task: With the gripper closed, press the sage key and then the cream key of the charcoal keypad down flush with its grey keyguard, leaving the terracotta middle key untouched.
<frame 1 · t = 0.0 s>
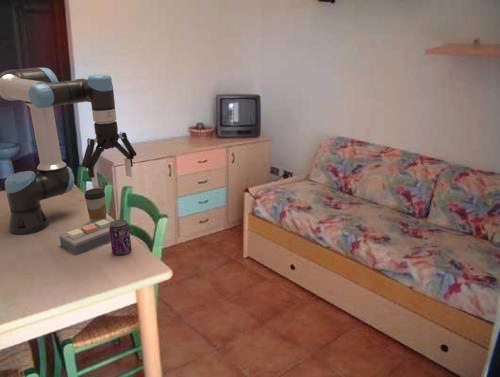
hand: (112, 180, 158), 28 cm above the table, fingers open, 13 cm apart
key cream: (75, 235, 169), point 5 cm above the table, slide at 0.0 cm
key terracotta: (89, 230, 173), point 5 cm above the table, slide at 0.0 cm
beverage can: (122, 252, 167), on the table
coffee cup: (99, 224, 191), on the table
keypad: (91, 241, 175), on the table
key sage: (102, 225, 177), point 5 cm above the table, slide at 0.0 cm
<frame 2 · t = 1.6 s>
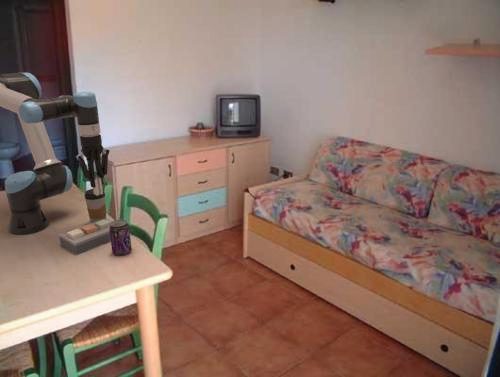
hand: (98, 193, 173), 18 cm above the table, fingers closed
nothing on the table moved.
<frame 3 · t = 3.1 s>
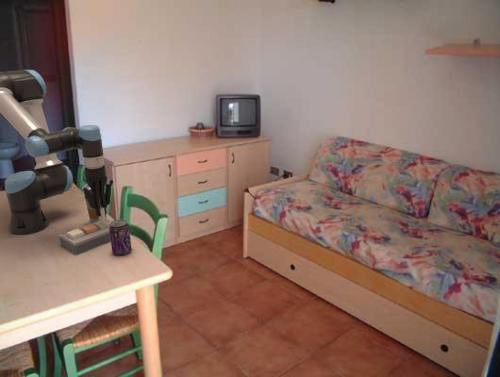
hand: (102, 222, 177), 6 cm above the table, fingers closed
key sage: (103, 226, 178), point 4 cm above the table, slide at 0.3 cm, touching gripper
everything else where it was.
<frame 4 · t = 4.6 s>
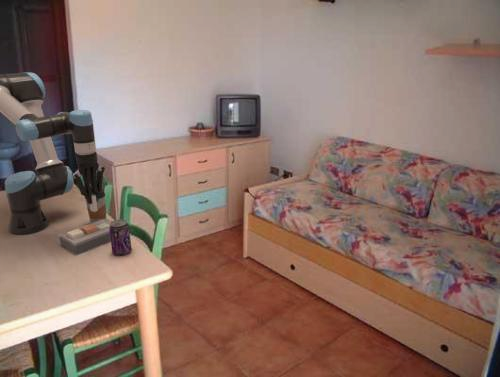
hand: (94, 210, 173), 12 cm above the table, fingers closed
key sage: (103, 229, 178), point 3 cm above the table, slide at 1.5 cm
everything else where it was.
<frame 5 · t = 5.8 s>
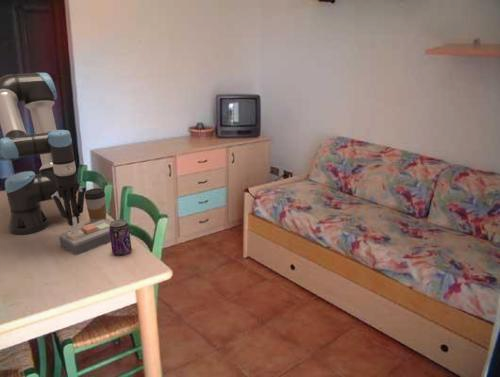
hand: (75, 232, 169), 6 cm above the table, fingers closed
key cream: (75, 236, 169), point 4 cm above the table, slide at 0.2 cm, touching gripper
everything else where it was.
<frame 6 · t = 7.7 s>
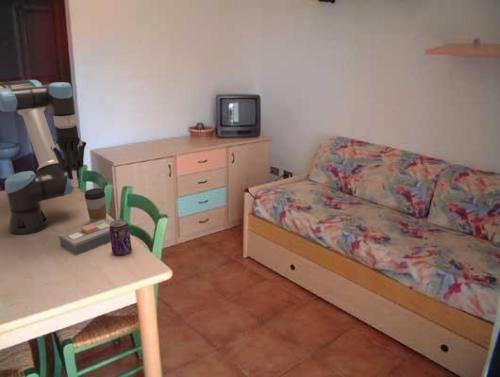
hand: (75, 186, 170), 22 cm above the table, fingers closed
key cream: (76, 239, 170), point 3 cm above the table, slide at 1.5 cm
everything else where it was.
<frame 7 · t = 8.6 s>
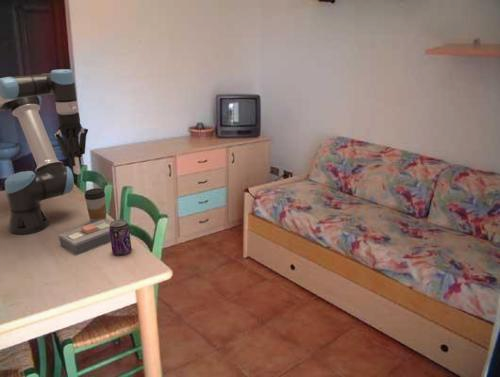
hand: (77, 173, 172), 26 cm above the table, fingers closed
nothing on the table moved.
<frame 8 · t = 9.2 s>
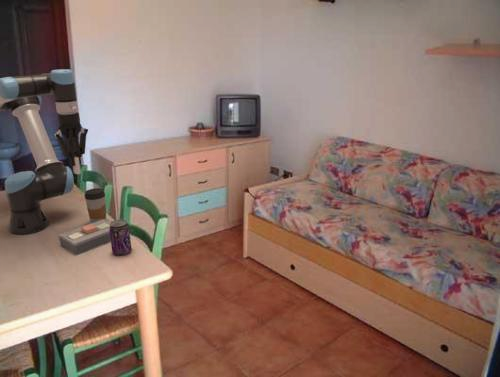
hand: (77, 173, 172), 26 cm above the table, fingers closed
nothing on the table moved.
at the end: key sage slide at 1.5 cm; key cream slide at 1.5 cm; key terracotta slide at 0.0 cm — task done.
